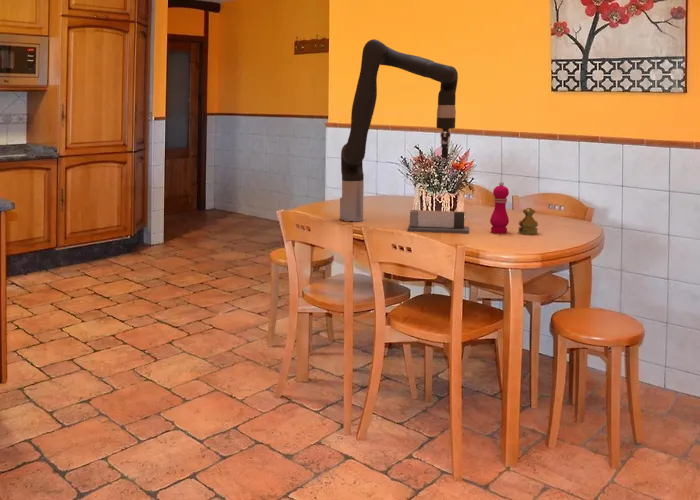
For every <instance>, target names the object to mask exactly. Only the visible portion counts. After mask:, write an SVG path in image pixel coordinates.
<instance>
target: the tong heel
mask: <svg viewBox="0 0 700 500" xmlns="http://www.w3.org/2000/svg"><path fill="white" fill-rule="evenodd" d="M419 210H420V209H411V210H410V211H409V224H410V227H417V226H418V215H419Z"/></svg>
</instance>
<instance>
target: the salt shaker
mask: <svg viewBox="0 0 700 500" xmlns="http://www.w3.org/2000/svg"><path fill="white" fill-rule="evenodd" d="M536 212H537V211H536V210H535V209H533V208H532V207H527V208H525V209H522V213H523V214H524V217H523V218H522V219H521V220H519V221H518V225H519V226H518V234H521V235H525V236H527V235H529V236H531V235H532V236H535V235H537V234H538V226H539V222H538V221H536V219H534V218H533V215H534V214H536Z"/></svg>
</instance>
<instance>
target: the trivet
mask: <svg viewBox="0 0 700 500" xmlns="http://www.w3.org/2000/svg"><path fill="white" fill-rule="evenodd" d="M407 232H413V233H415V232H416V233H444V234H462V235H463V234H464V235H465V234H467V235H469V234H470V226H465V225H464V228H445V227H418V226H417V227H410V223H409V224H408V227H407Z"/></svg>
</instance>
